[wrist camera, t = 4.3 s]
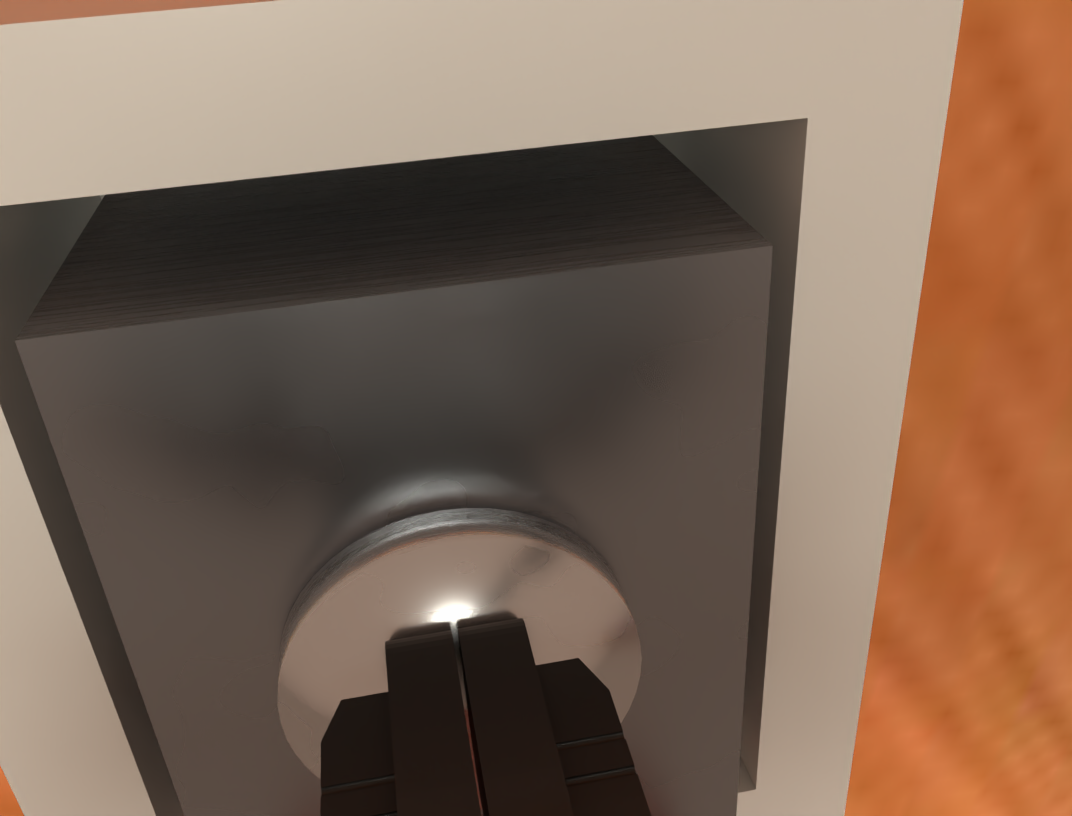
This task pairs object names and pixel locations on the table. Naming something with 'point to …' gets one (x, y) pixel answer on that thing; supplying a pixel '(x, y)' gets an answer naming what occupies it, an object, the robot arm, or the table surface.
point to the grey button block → (416, 446)
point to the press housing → (474, 128)
